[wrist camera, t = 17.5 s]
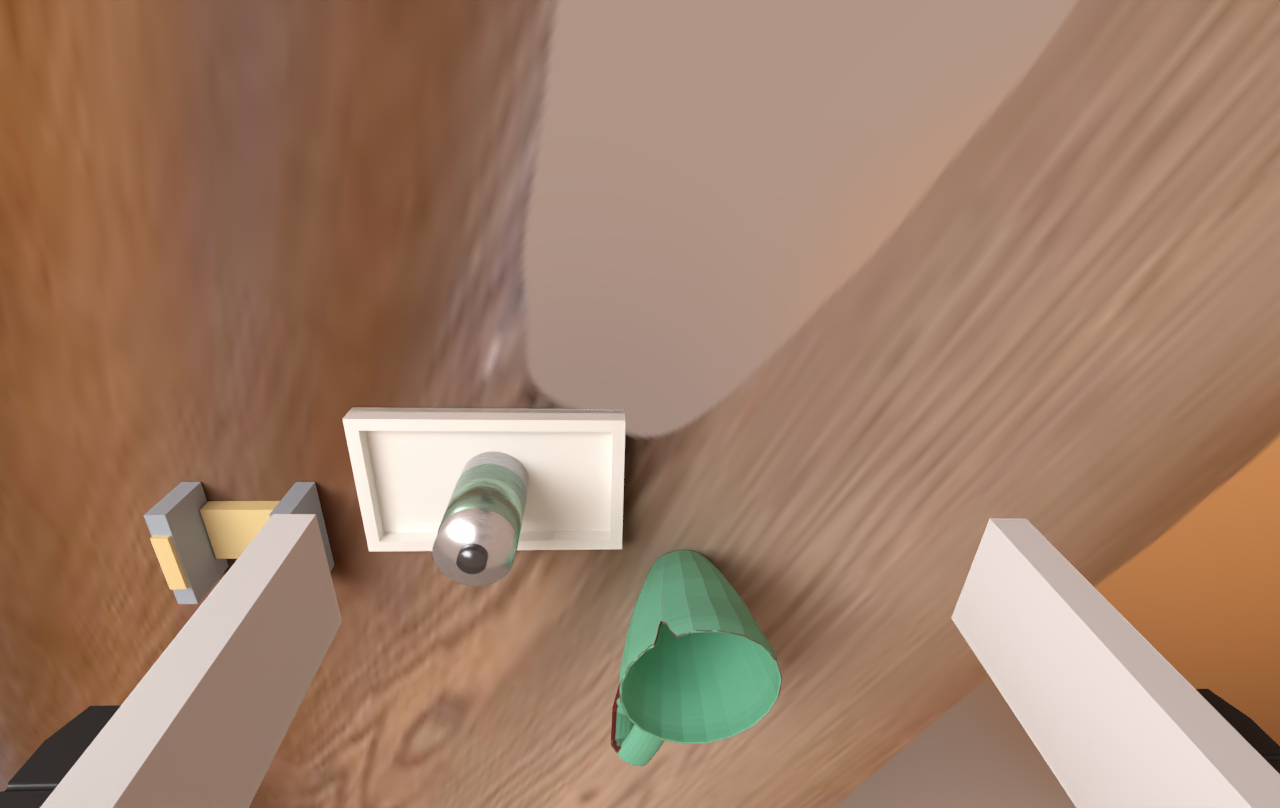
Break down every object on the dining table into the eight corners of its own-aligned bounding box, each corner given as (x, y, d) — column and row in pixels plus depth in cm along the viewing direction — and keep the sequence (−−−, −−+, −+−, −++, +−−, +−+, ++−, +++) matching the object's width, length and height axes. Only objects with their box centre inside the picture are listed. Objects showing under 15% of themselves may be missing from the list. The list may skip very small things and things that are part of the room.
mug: (655, 502, 42) (670, 608, 33) (771, 550, 44) (814, 661, 36) (565, 641, 47) (557, 766, 38) (673, 678, 50) (689, 802, 41)
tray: (352, 407, 38) (342, 419, 36) (624, 409, 39) (625, 420, 37) (376, 536, 42) (368, 551, 40) (621, 534, 43) (621, 549, 42)
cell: (457, 450, 39) (424, 528, 31) (528, 451, 39) (511, 528, 32) (463, 508, 41) (433, 594, 33) (531, 508, 41) (515, 594, 34)
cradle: (181, 481, 39) (140, 518, 36) (315, 481, 40) (287, 517, 36) (210, 566, 42) (175, 607, 39) (334, 565, 43) (310, 605, 39)
